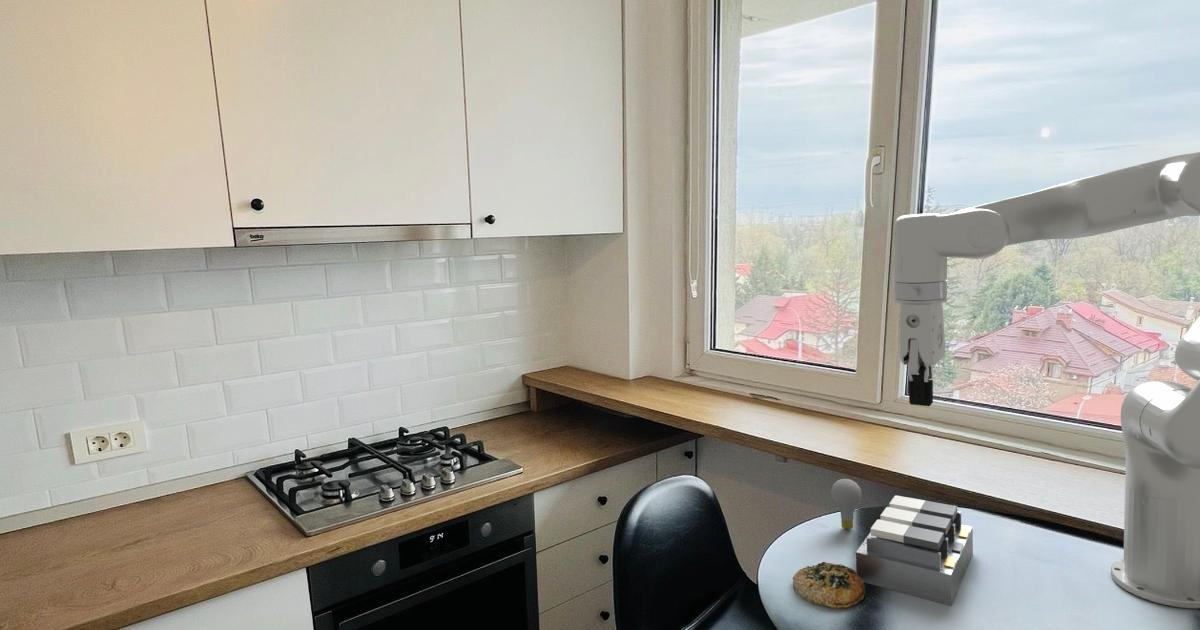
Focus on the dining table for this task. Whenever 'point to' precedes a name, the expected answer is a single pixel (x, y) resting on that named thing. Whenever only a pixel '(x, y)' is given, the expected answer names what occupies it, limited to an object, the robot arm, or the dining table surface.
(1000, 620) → the dining table surface
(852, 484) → the light bulb
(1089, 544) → the dining table surface
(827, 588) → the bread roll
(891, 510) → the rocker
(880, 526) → the rocker
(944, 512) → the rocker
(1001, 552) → the dining table surface
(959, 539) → the switch box
